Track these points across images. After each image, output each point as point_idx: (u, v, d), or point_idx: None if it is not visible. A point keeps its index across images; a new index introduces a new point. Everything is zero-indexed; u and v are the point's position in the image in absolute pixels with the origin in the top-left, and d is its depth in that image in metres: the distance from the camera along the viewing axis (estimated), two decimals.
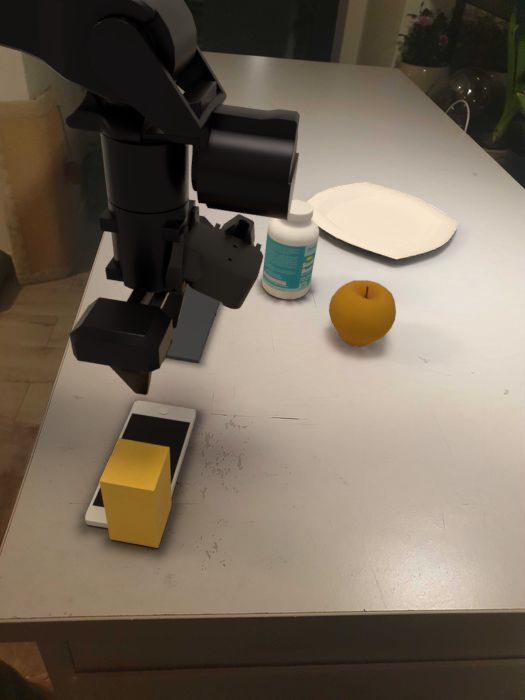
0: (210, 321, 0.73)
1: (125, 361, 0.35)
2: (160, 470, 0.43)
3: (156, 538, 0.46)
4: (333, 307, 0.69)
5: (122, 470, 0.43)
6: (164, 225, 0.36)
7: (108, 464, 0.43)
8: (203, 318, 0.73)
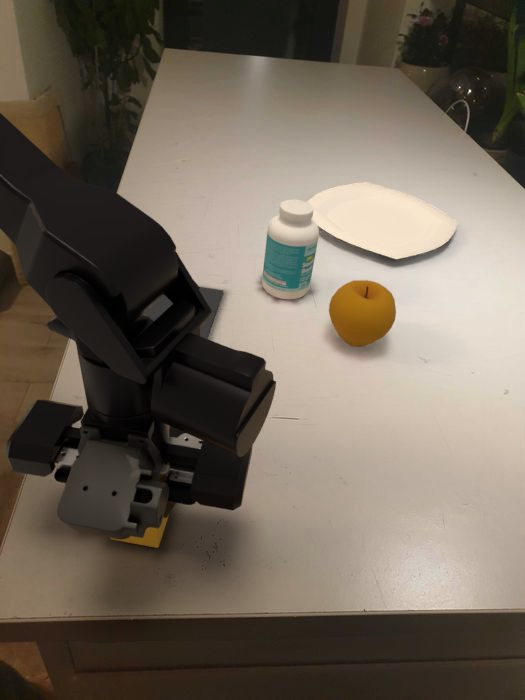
0: (210, 321, 0.73)
1: None
2: None
3: (156, 538, 0.46)
4: (333, 307, 0.69)
5: None
6: (88, 410, 0.37)
7: None
8: None
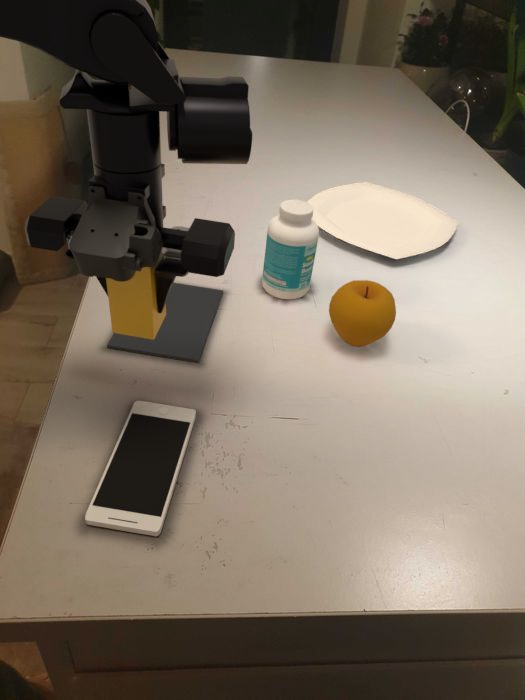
0: (210, 321, 0.73)
1: None
2: None
3: (152, 327, 0.54)
4: (333, 307, 0.69)
5: None
6: (95, 175, 0.45)
7: None
8: (203, 318, 0.73)
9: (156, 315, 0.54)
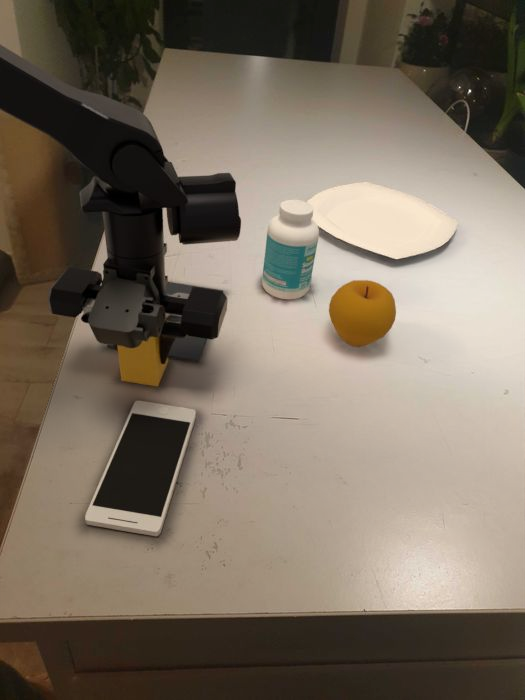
0: None
1: None
2: None
3: (156, 376, 0.62)
4: (333, 307, 0.69)
5: None
6: (108, 258, 0.53)
7: None
8: None
9: (159, 366, 0.62)
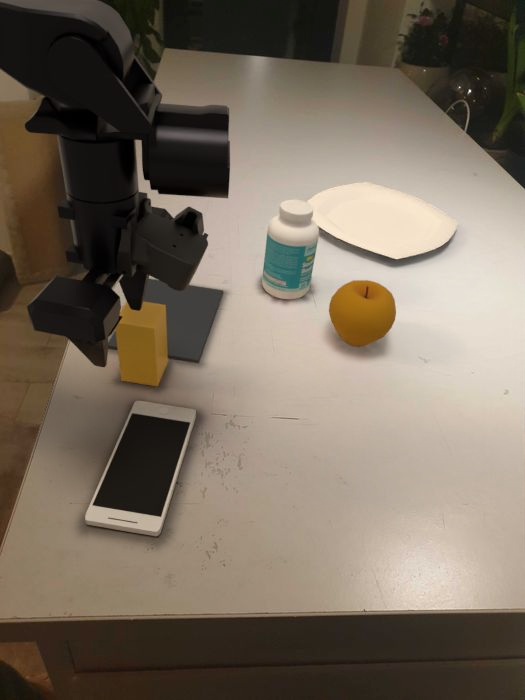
0: (210, 321, 0.73)
1: (75, 331, 0.40)
2: (158, 317, 0.59)
3: (156, 376, 0.62)
4: (333, 307, 0.69)
5: (131, 316, 0.58)
6: (113, 214, 0.41)
7: (120, 313, 0.59)
8: (203, 318, 0.73)
9: (159, 366, 0.62)
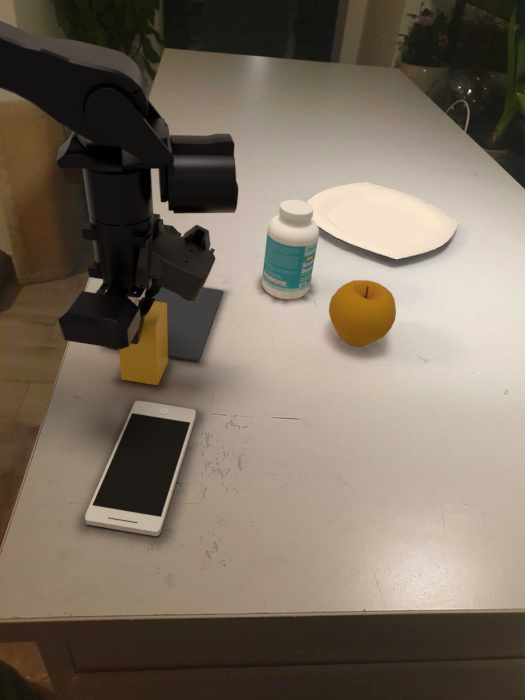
0: (210, 321, 0.73)
1: (102, 340, 0.46)
2: (160, 314, 0.59)
3: (156, 374, 0.62)
4: (333, 307, 0.69)
5: None
6: (132, 235, 0.47)
7: None
8: (203, 318, 0.73)
9: (160, 364, 0.62)
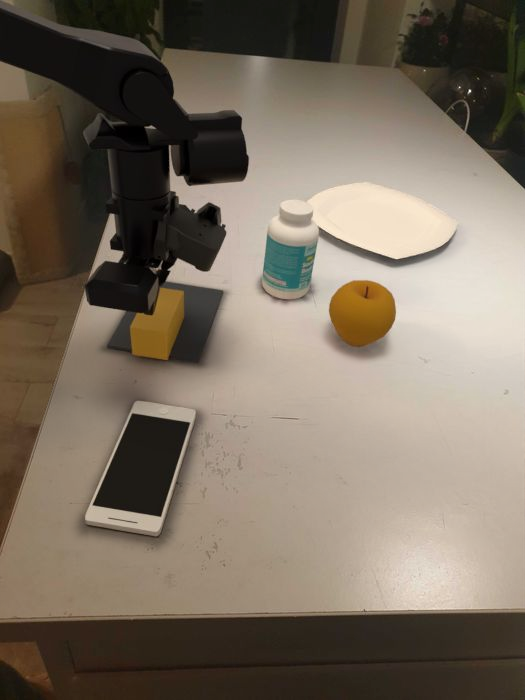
0: (210, 321, 0.73)
1: (124, 304, 0.50)
2: (183, 303, 0.71)
3: (169, 324, 0.64)
4: (333, 307, 0.69)
5: None
6: (152, 209, 0.51)
7: None
8: (203, 318, 0.73)
9: (171, 327, 0.66)
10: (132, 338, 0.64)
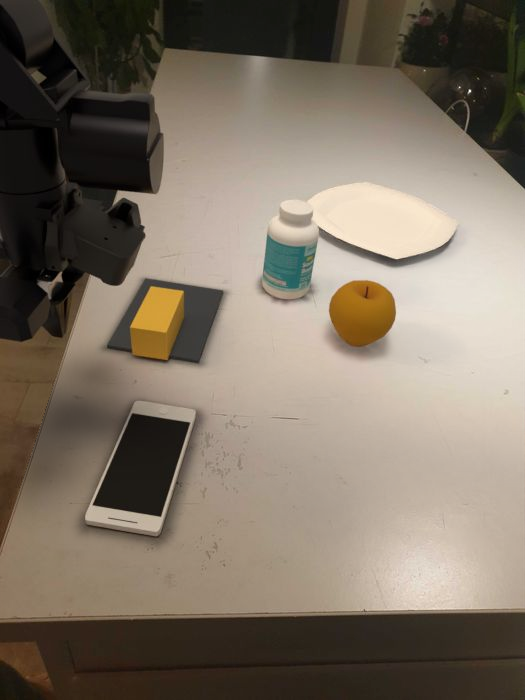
0: (210, 321, 0.73)
1: None
2: (183, 303, 0.71)
3: (169, 324, 0.64)
4: (333, 307, 0.69)
5: None
6: (37, 206, 0.39)
7: None
8: (203, 318, 0.73)
9: (171, 327, 0.66)
10: (132, 338, 0.64)
